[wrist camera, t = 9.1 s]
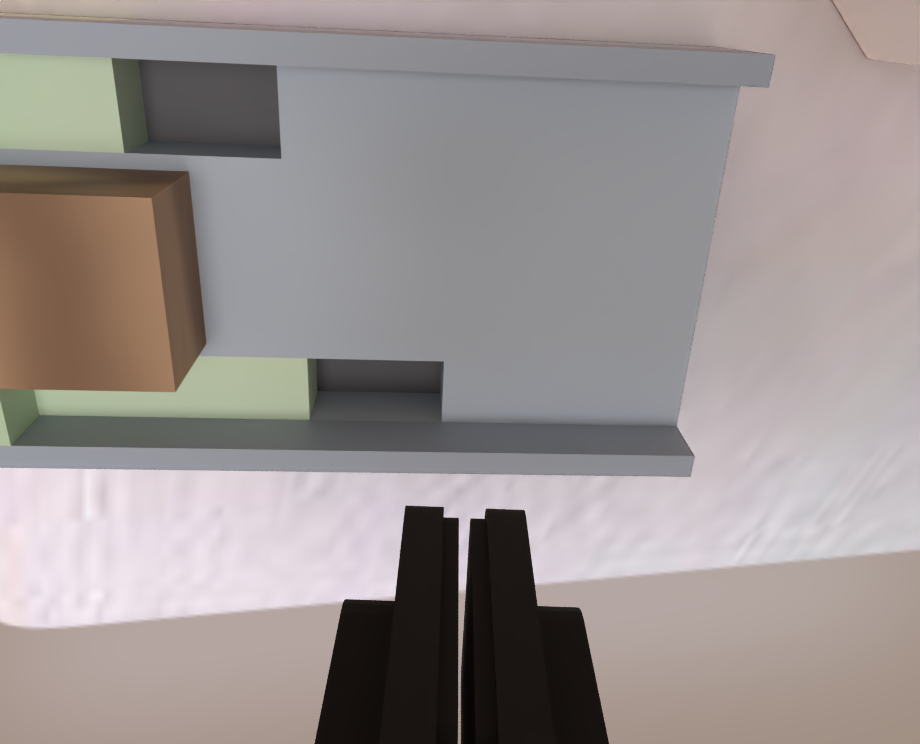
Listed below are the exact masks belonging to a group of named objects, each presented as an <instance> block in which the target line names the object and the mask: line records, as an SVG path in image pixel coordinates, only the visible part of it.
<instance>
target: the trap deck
mask: <svg viewBox="0 0 920 744" xmlns="http://www.w3.org/2000/svg"><path fill="white" fill-rule="evenodd" d="M774 60H775V55H773V54H766V53H758V52H751V51H743V50H736V49H729V48H721V47H710V46H689V45H668V44H647V43H626V42H605V41H584V40H563V39H542V38H521V37H500V36H479V35H458V34H437V33H416V32H395V31H374V30H353V29H332V28H311V27H290V26H269V25H248V24H227V23H206V22H185V21H164V20H143V19H122V18H101V17H80V16H59V15H38V14H17V13H0V164H1V165H28V166H56V167H84V168H111V169H139V170H166V171H189V177H190V187H191V197H192V207H193V216H194V226H195V236H196V246H197V256H198V265H199V275H200V285H201V295H202V305H203V315H204V324H205V334H206V345H205V347H204V348H203V350H202V352H201V353H200V355H199V356H198V358H197V359H196V361H195V363H194V364H193V366H192V367H191V369H190V370H189V372H188V374H187V375H186V377H185V378H184V380H183V381H182V383H181V385H180V386H179V388H178V389H177V391H176V392H133V391H82V390H30V389H0V468H70V469H145V470H221V471H296V472H371V473H446V474H521V475H596V476H671V477H690V476H691V471H692V466H693V461H694V454H693V453H692V451H691V449H690V448H689V446H688V445H687V443H686V441H685V440H684V438H683V436H682V435H681V433H680V431H679V430H678V428H677V420H678V415H679V409H680V404H681V399H682V393H683V388H684V383H685V377H686V372H687V367H688V361H689V356H690V351H691V345H692V340H693V334H694V329H695V324H696V318H697V313H698V308H699V302H700V297H701V292H702V286H703V281H704V276H705V270H706V265H707V260H708V254H709V249H710V243H711V238H712V233H713V227H714V222H715V217H716V211H717V206H718V201H719V195H720V190H721V185H722V179H723V174H724V169H725V163H726V158H727V152H728V147H729V142H730V136H731V131H732V126H733V120H734V115H735V110H736V104H737V99H738V94H739V88H740V86H750V87H769V85H770V80H771V75H772V70H773V65H774Z"/></svg>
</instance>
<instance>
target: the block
mask: <svg viewBox="0 0 920 744" xmlns="http://www.w3.org/2000/svg"><path fill="white" fill-rule="evenodd" d="M205 345H206V334H205V324H204V315H203V305H202V295H201V285H200V275H199V265H198V256H197V246H196V236H195V226H194V216H193V207H192V197H191V187H190V177H189V171H166V170H139V169H111V168H84V167H56V166H28V165H1V164H0V389H30V390H82V391H133V392H176V391H177V389H178V388H179V386H180V385H181V383H182V381H183V380H184V378H185V377H186V375H187V374H188V372H189V370H190V369H191V367H192V366H193V364H194V363H195V361H196V359H197V358H198V356H199V355H200V353H201V352H202V350H203V348H204V347H205Z"/></svg>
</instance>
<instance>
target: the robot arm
mask: <svg viewBox="0 0 920 744" xmlns="http://www.w3.org/2000/svg"><path fill="white" fill-rule="evenodd" d="M443 514H444V507H426V506H406V507H405V514H404V523H403V532H402V541H401V550H400V559H399V568H398V577H397V586H396V595H395V601H377V600H349V599H345V600H344V602H343V605H342V609H341V614H340V619H339V624H338V629H337V634H336V639H335V644H334V649H333V654H332V659H331V664H330V670H329V674H328V679H327V684H326V689H325V694H324V700H323V704H322V710H321V715H320V719H319V725H318V729H317V734H316V740H315V744H458V551H459V519H458V518H443ZM465 600H466V601H465V615H464V631H463V649H462V667H461V744H609V742H608V737H607V732H606V727H605V722H604V717H603V712H602V707H601V702H600V698H599V693H598V688H597V683H596V678H595V673H594V668H593V663H592V658H591V653H590V648H589V644H588V639H587V633H586V629H585V624H584V619H583V616H582V612H581V610H580V609H579V608H575V607H547V606H546V607H545V606H537V599H536V591H535V583H534V576H533V568H532V560H531V553H530V545H529V537H528V529H527V522H526V515H525V511H524V510H506V509H486V512H485V519H471V520H470V533H469V550H468V566H467V582H466V599H465Z"/></svg>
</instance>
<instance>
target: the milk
mask: <svg viewBox="0 0 920 744" xmlns="http://www.w3.org/2000/svg"><path fill="white" fill-rule="evenodd" d="M833 2H834V4H835V5H836V7H837V9H838V10H839V12H840V14H841V15H842V17H843V19H844V21H845V22H846V24H847V26H848V27H849V29H850V31H851V32H852V34H853V36H854V37H855V39H856V41H857V42H858V44H859V46H860V47H861V49H862V51H863V52H864V54H865V56H866V57H867V58H868V59H871V60H878V61H887V62H895V63H904V64H912V65H920V0H833Z"/></svg>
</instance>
